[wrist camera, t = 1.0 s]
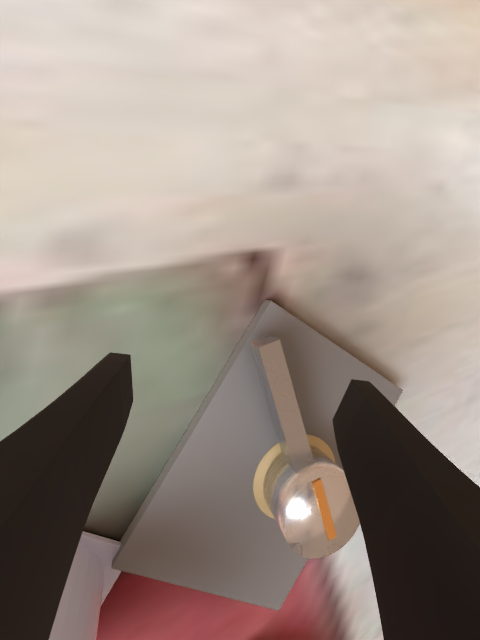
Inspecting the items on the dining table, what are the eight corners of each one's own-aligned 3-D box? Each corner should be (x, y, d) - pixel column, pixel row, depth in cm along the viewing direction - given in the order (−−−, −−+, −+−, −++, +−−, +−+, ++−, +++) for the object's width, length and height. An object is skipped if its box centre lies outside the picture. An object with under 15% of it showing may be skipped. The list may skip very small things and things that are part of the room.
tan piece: (338, 493, 24) (372, 531, 20) (274, 529, 22) (299, 576, 19) (292, 322, 20) (323, 331, 17) (215, 351, 19) (232, 368, 16)
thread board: (272, 595, 25) (279, 612, 24) (113, 552, 20) (111, 569, 19) (391, 385, 26) (404, 390, 25) (264, 299, 21) (271, 300, 20)
